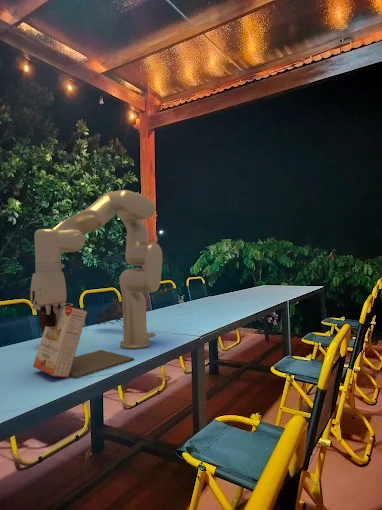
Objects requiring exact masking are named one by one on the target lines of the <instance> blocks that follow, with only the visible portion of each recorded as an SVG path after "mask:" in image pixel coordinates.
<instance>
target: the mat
mask: <svg viewBox="0 0 382 510" xmlns="http://www.w3.org/2000/svg"><path fill="white" fill-rule="evenodd" d="M132 361H135V359H134V357H131V356H127V355H123V354H119V353H114V352H111V351H106V350H103V349H100V350H99V349H98V350H95V351H92V352H88V353H85V354H81V355H77V356H74V360H73V363H72V367H71V370H70V374H69V377H71V378H74V379H76V378H77V379H79V377H80V378H83V377H86V376H88V375H89V376H90V375H93V374H95V372H96V373H98V371H99V372H101V370H102V371H104V369H105V370H108V369H111V368H113V367H116V366H117V367H118V366H120V365H124V364H127V363H130V362H132ZM126 362H127V363H126ZM123 363H124V364H123ZM119 364H120V365H119ZM82 376H83V377H82Z"/></svg>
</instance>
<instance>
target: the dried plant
mask: <svg viewBox="0 0 382 510" xmlns="http://www.w3.org/2000/svg"><path fill="white" fill-rule="evenodd" d="M171 289H172V290H173V289H174V290H175V289H176V288H174V287H173V286H171V288H169V289H167V287H166V288H165V289H164V290H163V289H160V291H159V292H158V293H156V294H153V295H150V296H147V297H146V295H144V297H145V298H146V299H147V300H146V303H148V304H150V302H149V301H150V300H151V301H152V303H153V300H154V296H155V298H156V299H158V298H157V297H158V296H157V295H161V297H164V296H163V295H164V293H168V290H171ZM178 289H179V287H177V290H178ZM162 290H163V291H162ZM174 290H173V291H174ZM179 290H180V289H179ZM116 298H117V295H115V294H113V298H112V299H108V300H109V302H110V303H109V304H106V306H104V307H103V308H102V312H101V313H102V314H100V313H98V315H99V316H97V317H96V319H98V320H97V321H96V322H94V323H93V325H95V324H96V325H97V326H101V325H104V326H105V324H106V325H107V324H110V326H112V325H116V324H117V326H120V327H122V324H123V299H122V297H120V298H118V299H116ZM150 298H151V299H150ZM147 306H148V305H147V304H146V307H147ZM112 311H113V312H112ZM118 314H120V315H118ZM99 318H100V319H99ZM111 320H112V321H111ZM114 320H115V321H114ZM120 322H121V324H120ZM118 323H119V324H118Z"/></svg>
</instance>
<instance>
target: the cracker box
mask: <svg viewBox="0 0 382 510" xmlns="http://www.w3.org/2000/svg"><path fill="white" fill-rule="evenodd" d="M87 314H88V311H86V310H83V309H80V308H75V307H74V308H71V307H66V306H62V307H60V308H59V310H58V311H57V313H56V323H55V326H54V327H46V326H45V329H44V333H43V332H42V336H41V339H40V343H39V346H38V349H37V353H36V355H35V358H34V359H35V360H34V362H33V365H32V367H33V368H35V369H37V370H39V371H42V373H45V374H47V375H50V376H51V377H56V378H69V377H70V376H69V374H70V370H71V367H72V363H73V360H74V357H76V352H77V350H78V346H79V341H80V339H81V335H82V331H83V328H84V325H85V322H86V318H87Z"/></svg>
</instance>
